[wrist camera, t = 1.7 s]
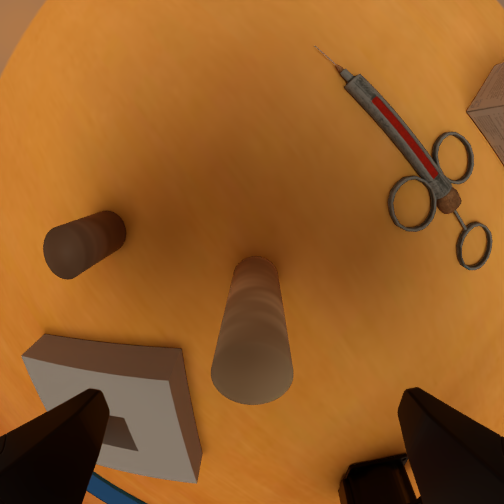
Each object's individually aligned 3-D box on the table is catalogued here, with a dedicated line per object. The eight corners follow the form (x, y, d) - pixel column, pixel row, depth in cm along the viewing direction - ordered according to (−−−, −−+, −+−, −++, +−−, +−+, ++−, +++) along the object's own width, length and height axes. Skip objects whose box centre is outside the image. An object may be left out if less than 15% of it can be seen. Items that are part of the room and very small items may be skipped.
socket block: (181, 348, 19) (168, 380, 16) (202, 453, 22) (197, 483, 19) (44, 333, 19) (21, 355, 16) (87, 433, 23) (74, 457, 19)
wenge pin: (123, 209, 17) (79, 225, 12) (128, 251, 17) (87, 279, 13) (88, 212, 17) (39, 228, 12) (93, 252, 18) (48, 278, 13)
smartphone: (69, 456, 24) (165, 516, 27) (72, 451, 25) (167, 511, 27) (52, 465, 26) (138, 521, 28) (55, 461, 26) (139, 516, 29)
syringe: (352, 19, 14) (360, 8, 12) (504, 223, 17) (518, 228, 15) (266, 90, 15) (267, 82, 14) (443, 296, 18) (455, 305, 17)
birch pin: (277, 256, 17) (295, 341, 9) (277, 298, 18) (291, 403, 9) (232, 256, 17) (207, 342, 9) (234, 298, 18) (214, 404, 9)
